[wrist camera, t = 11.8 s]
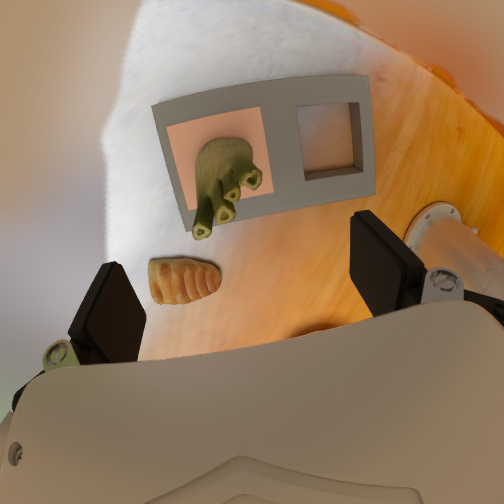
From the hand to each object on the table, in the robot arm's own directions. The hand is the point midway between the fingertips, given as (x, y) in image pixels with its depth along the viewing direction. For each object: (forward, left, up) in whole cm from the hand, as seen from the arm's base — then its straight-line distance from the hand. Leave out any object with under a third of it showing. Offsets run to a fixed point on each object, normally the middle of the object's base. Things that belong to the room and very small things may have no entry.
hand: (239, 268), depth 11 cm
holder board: (-5, 0, -21) cm, 22 cm away
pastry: (+9, +14, -22) cm, 27 cm away
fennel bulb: (0, 0, -19) cm, 19 cm away
